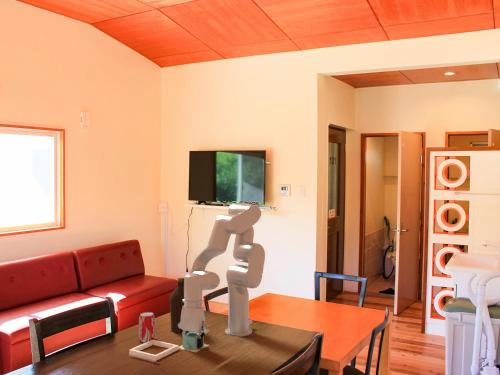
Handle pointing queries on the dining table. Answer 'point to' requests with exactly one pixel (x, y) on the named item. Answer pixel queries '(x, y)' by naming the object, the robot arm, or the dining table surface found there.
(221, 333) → the dining table surface
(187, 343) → the collar
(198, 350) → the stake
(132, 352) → the white square frame
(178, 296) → the olive oil
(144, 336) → the soda can
